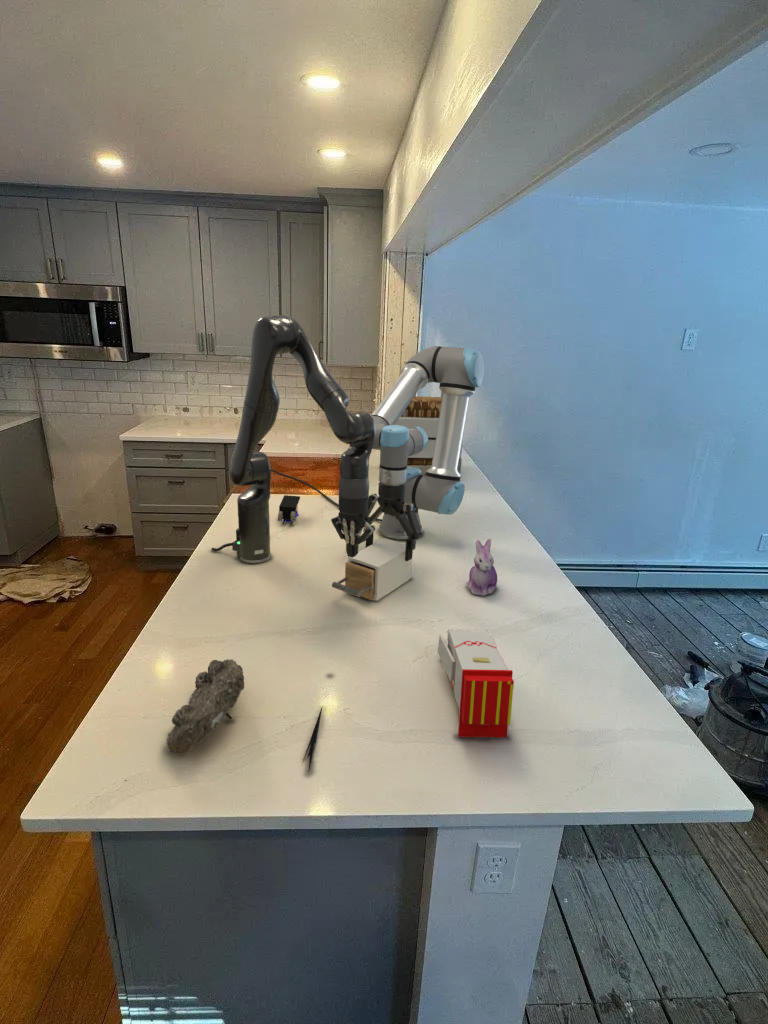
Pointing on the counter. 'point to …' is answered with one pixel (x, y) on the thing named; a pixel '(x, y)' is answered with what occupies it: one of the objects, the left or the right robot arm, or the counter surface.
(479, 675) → the toy
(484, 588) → the figurine
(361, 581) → the drawer
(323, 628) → the counter surface
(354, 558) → the cabinet
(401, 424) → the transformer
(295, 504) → the figurine character
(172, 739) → the fossil
